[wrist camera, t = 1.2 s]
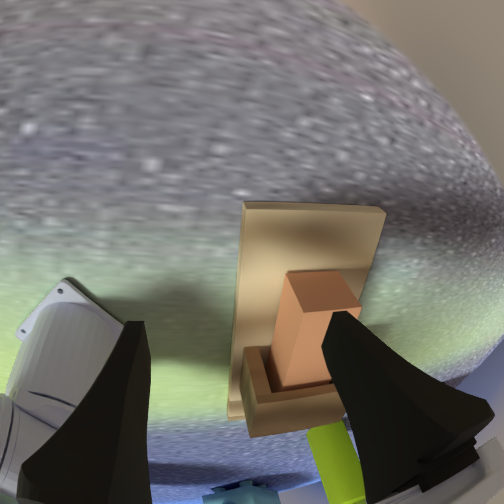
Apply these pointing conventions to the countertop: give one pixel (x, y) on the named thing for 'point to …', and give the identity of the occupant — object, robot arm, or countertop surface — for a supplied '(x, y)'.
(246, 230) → the board
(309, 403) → the tunnel
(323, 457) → the soap dispenser
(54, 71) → the countertop surface
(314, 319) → the block
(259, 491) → the teapot
